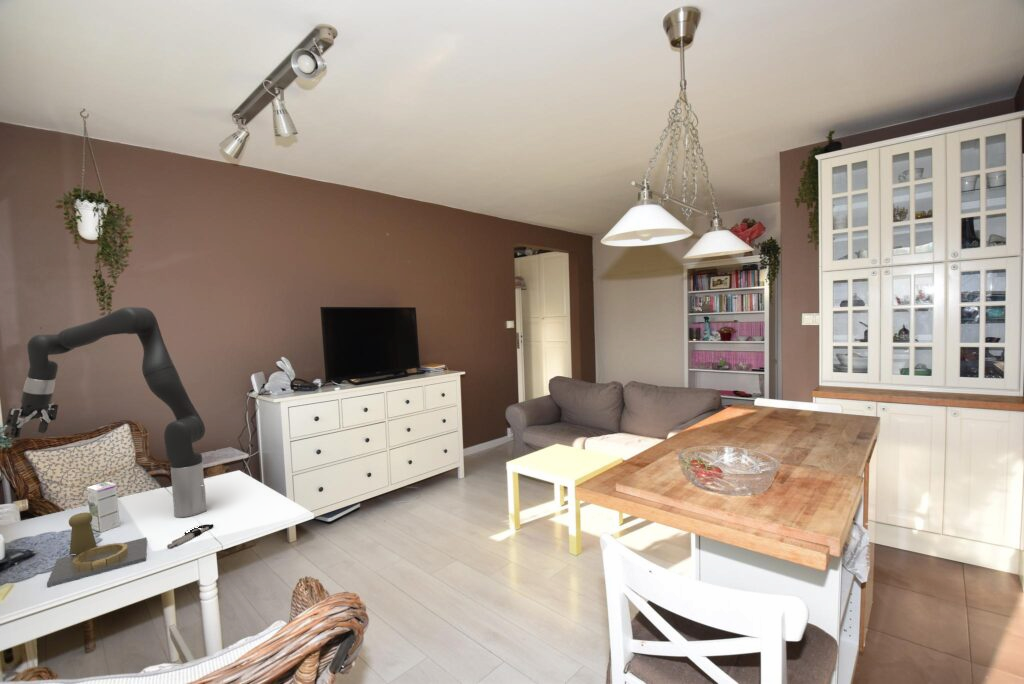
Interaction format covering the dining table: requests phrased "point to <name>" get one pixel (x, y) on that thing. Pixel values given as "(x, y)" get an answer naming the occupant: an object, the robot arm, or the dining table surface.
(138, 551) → the collar plate
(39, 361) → the robot arm
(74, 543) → the cork
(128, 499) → the dining table surface
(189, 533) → the micrometer
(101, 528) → the syrup box
